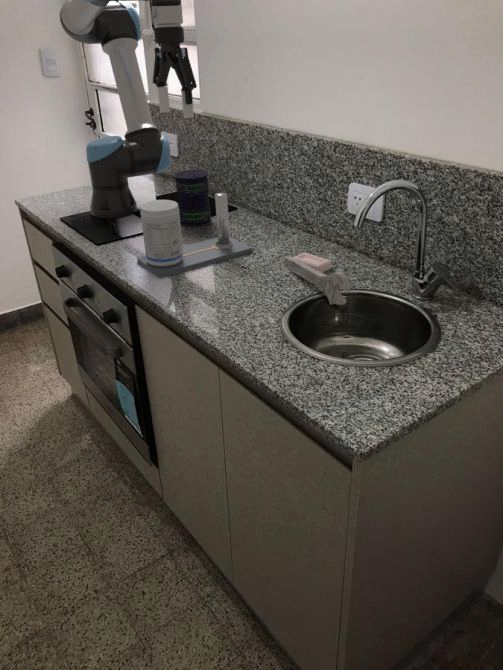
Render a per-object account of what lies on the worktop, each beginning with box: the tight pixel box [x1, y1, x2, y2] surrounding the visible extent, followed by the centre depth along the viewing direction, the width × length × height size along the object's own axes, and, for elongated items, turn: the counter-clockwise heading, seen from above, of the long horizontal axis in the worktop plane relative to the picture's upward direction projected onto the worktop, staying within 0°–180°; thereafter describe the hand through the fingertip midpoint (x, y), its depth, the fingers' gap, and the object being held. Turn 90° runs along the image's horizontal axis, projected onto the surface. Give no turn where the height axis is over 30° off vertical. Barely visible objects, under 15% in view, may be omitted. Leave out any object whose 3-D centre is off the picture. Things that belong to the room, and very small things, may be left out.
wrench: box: [283, 256, 352, 306], centre depth 128 cm, size 8×2×30 cm
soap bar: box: [293, 252, 332, 273], centre depth 140 cm, size 5×9×2 cm, turn 45°
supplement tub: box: [140, 199, 183, 267], centre depth 140 cm, size 10×10×15 cm
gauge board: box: [136, 235, 253, 279], centre depth 148 cm, size 13×28×1 cm, turn 125°
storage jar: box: [174, 169, 212, 228], centre depth 170 cm, size 10×10×15 cm
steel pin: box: [214, 192, 232, 248], centre depth 149 cm, size 5×5×14 cm
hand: (176, 114), depth 152 cm, fingers open, 13 cm apart
